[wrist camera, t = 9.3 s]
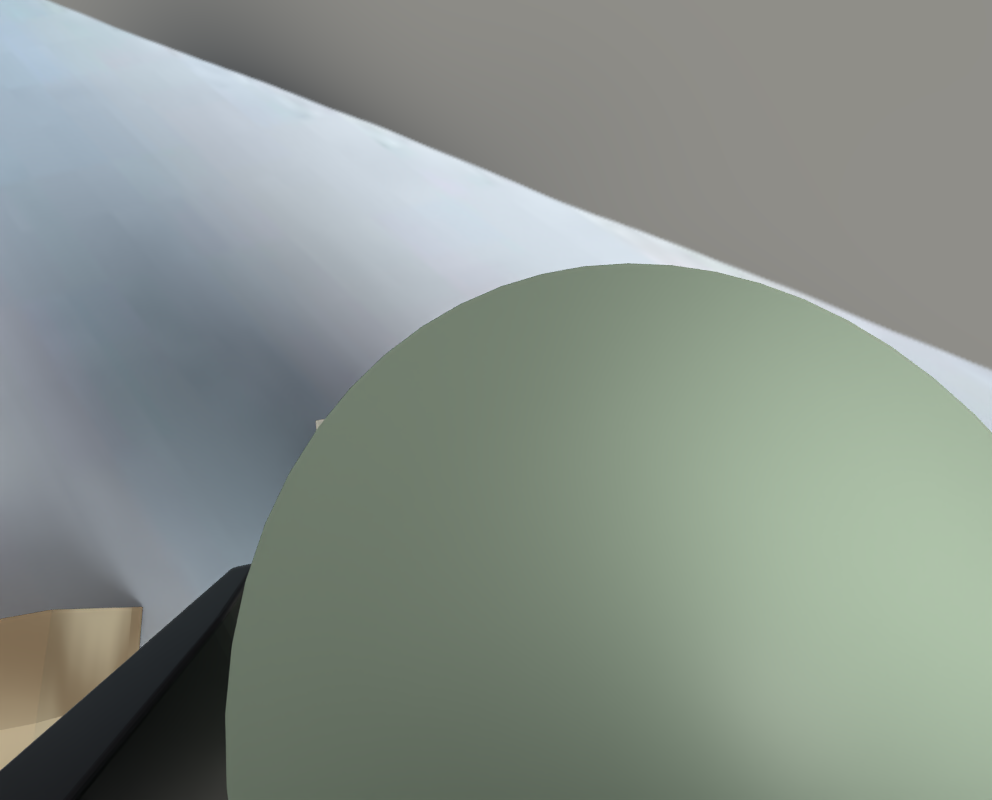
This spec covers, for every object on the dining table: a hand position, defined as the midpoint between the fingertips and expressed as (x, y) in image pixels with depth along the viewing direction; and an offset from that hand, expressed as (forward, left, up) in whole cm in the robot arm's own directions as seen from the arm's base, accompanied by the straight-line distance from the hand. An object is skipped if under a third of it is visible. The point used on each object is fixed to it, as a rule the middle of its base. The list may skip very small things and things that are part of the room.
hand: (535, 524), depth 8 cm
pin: (-1, 0, -8) cm, 8 cm away
